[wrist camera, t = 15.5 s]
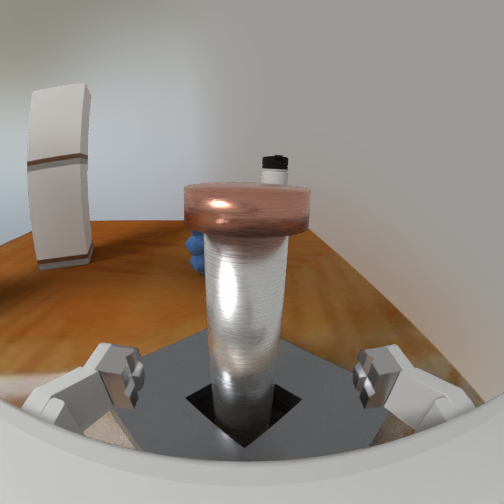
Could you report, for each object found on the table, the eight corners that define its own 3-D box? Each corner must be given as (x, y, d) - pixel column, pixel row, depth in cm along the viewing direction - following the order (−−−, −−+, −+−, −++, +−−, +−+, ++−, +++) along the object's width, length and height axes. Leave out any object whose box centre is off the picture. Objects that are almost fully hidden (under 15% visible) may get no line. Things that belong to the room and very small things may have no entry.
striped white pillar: (93, 248, 55) (91, 95, 44) (88, 263, 46) (85, 82, 35) (50, 254, 50) (45, 102, 39) (39, 270, 41) (32, 91, 30)
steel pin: (191, 431, 16) (161, 186, 11) (242, 398, 20) (247, 181, 15) (242, 475, 13) (248, 196, 8) (293, 432, 16) (333, 190, 11)
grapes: (223, 294, 38) (222, 207, 34) (178, 288, 39) (174, 205, 35) (241, 265, 49) (242, 197, 45) (204, 261, 50) (203, 195, 46)
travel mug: (262, 239, 65) (265, 154, 59) (257, 232, 71) (260, 155, 65) (287, 239, 66) (292, 156, 60) (280, 232, 72) (284, 156, 66)
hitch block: (109, 410, 17) (94, 375, 15) (236, 348, 26) (236, 314, 25) (258, 564, 6) (263, 561, 5) (381, 425, 16) (400, 392, 15)
